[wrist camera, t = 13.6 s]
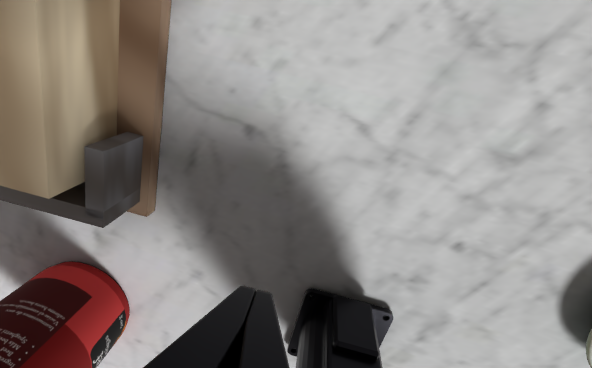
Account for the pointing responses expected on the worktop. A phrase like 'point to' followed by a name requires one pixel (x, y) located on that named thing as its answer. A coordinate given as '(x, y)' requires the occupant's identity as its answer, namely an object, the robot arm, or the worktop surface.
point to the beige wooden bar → (55, 89)
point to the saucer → (589, 348)
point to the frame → (122, 129)
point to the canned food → (62, 319)
